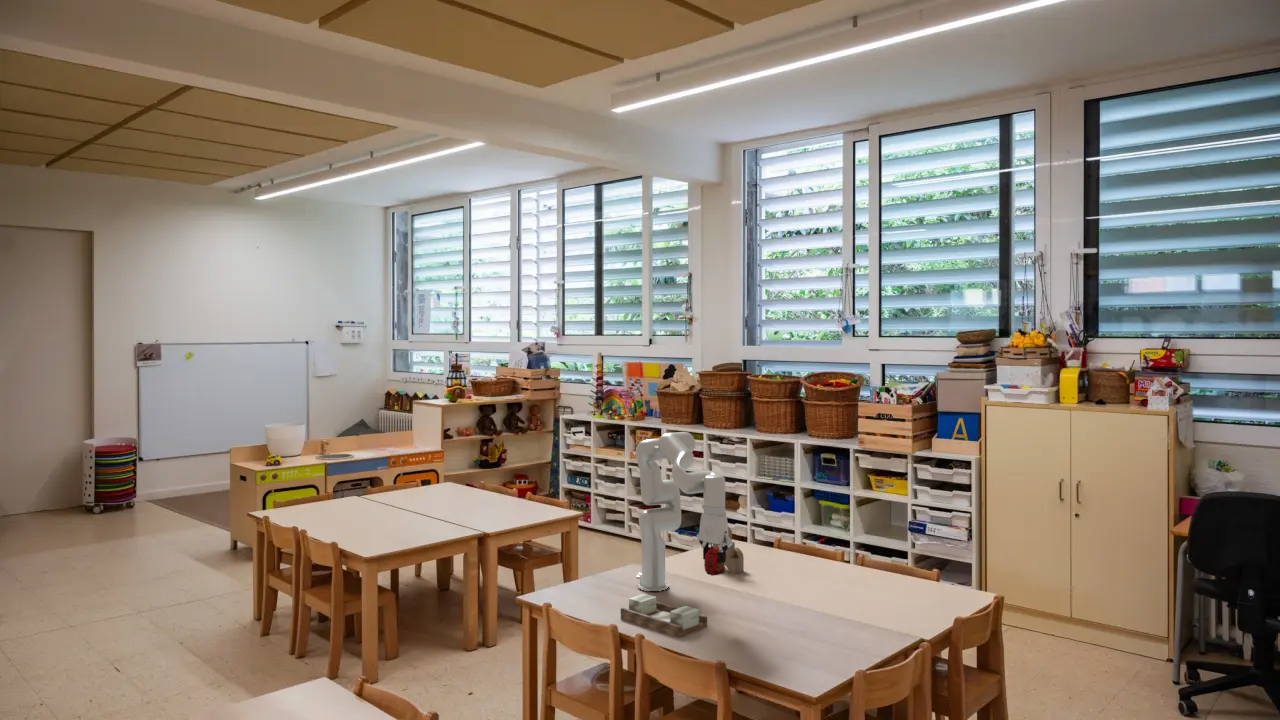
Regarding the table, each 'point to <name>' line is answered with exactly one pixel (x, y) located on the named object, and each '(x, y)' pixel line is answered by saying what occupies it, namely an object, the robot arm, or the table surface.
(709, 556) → the red clay folk toy
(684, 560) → the table surface
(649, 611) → the display tray
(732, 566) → the wooden toy
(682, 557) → the table surface
